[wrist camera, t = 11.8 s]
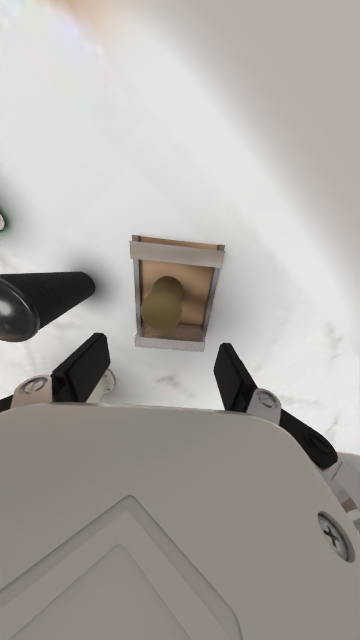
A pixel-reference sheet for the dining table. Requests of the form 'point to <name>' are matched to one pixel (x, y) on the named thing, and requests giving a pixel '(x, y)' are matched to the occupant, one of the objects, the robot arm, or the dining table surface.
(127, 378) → the dining table surface
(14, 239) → the dining table surface
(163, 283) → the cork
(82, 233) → the dining table surface
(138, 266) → the base
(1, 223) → the cup
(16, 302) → the drinking cup
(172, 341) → the sliding jaw
